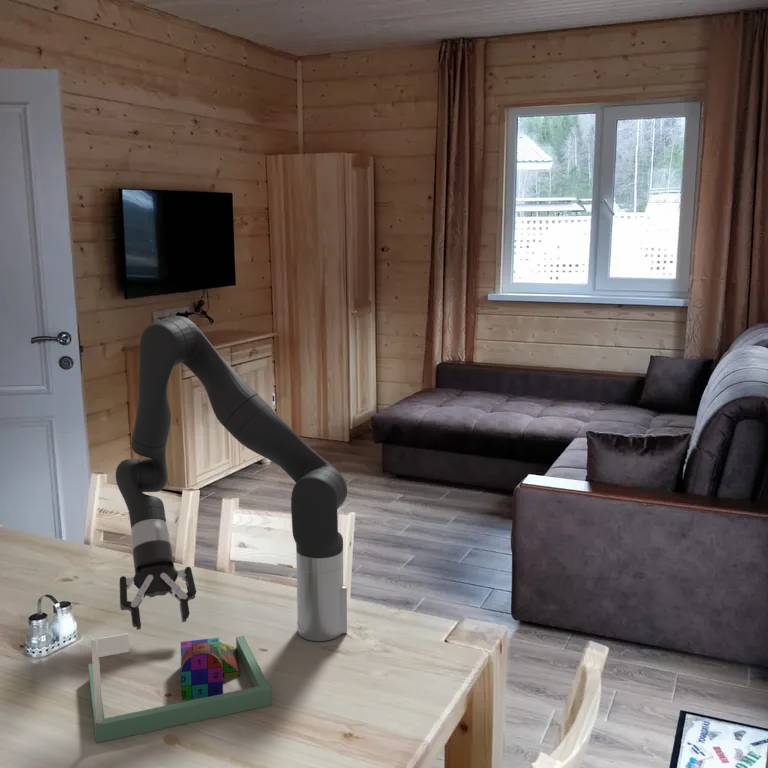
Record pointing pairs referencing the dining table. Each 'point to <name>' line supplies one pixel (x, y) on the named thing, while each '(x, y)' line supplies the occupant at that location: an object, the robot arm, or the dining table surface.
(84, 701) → the dining table surface
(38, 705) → the dining table surface
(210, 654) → the building blocks
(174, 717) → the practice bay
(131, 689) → the dining table surface
